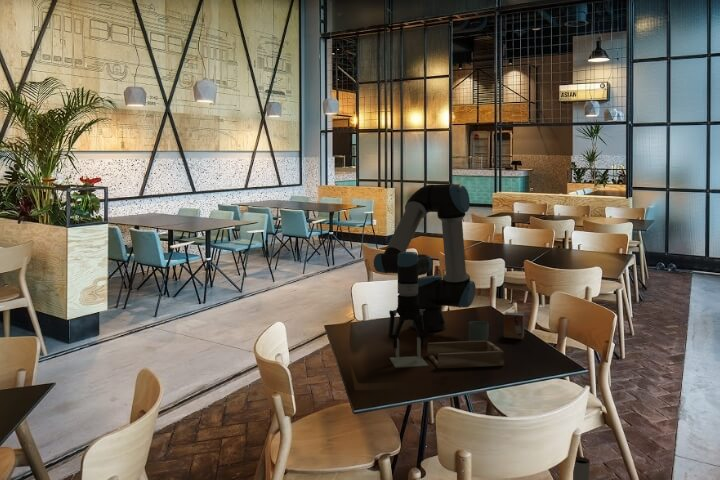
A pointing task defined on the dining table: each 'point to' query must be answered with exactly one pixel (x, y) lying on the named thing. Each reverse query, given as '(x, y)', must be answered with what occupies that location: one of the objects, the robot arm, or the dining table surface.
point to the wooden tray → (465, 354)
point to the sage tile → (408, 361)
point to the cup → (478, 330)
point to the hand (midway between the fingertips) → (408, 356)
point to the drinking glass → (581, 468)
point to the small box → (514, 325)
